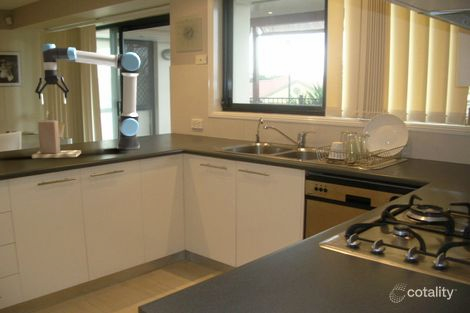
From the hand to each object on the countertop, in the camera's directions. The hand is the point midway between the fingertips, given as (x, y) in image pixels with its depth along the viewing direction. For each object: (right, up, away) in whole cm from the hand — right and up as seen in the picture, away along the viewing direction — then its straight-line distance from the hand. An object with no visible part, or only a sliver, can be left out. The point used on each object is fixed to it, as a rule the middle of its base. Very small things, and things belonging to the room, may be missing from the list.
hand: (53, 104), depth 286 cm
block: (-2, -31, 0) cm, 31 cm away
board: (+2, -33, +1) cm, 33 cm away
